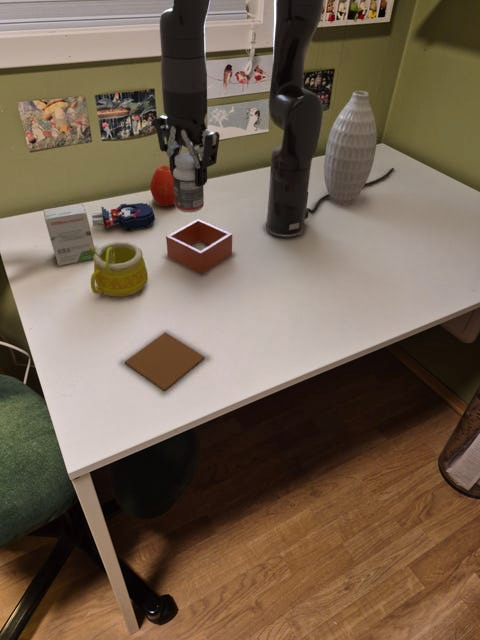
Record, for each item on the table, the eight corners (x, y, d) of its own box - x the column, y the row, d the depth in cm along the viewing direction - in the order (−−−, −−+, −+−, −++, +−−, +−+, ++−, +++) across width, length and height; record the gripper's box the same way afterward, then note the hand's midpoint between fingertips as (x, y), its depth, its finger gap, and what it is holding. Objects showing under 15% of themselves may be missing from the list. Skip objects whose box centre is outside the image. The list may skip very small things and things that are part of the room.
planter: (198, 238, 114) (197, 218, 111) (232, 254, 109) (232, 233, 106) (167, 256, 108) (165, 236, 104) (201, 274, 103) (200, 253, 100)
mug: (125, 264, 105) (117, 216, 97) (159, 283, 100) (153, 234, 92) (77, 290, 98) (65, 240, 90) (111, 312, 93) (101, 262, 85)
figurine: (90, 204, 117) (150, 198, 120) (93, 219, 120) (151, 212, 123) (92, 221, 111) (155, 214, 114) (95, 236, 114) (156, 229, 117)
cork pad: (165, 334, 88) (165, 332, 88) (204, 358, 84) (204, 356, 84) (124, 363, 83) (124, 361, 82) (164, 391, 78) (164, 389, 78)
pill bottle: (175, 199, 95) (172, 151, 88) (203, 199, 95) (202, 151, 88) (174, 213, 90) (171, 163, 84) (204, 213, 91) (203, 163, 84)
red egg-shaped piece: (177, 212, 124) (175, 173, 117) (147, 209, 125) (143, 170, 118) (185, 198, 130) (183, 160, 123) (156, 195, 131) (153, 157, 124)
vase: (370, 197, 133) (395, 91, 115) (353, 215, 125) (376, 104, 107) (330, 185, 138) (346, 82, 120) (311, 202, 130) (326, 94, 111)
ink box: (93, 248, 110) (83, 202, 102) (97, 259, 107) (87, 212, 99) (55, 255, 107) (42, 208, 100) (57, 266, 104) (44, 219, 96)
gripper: (231, 89, 77) (229, 185, 88) (170, 72, 83) (175, 164, 95) (200, 98, 72) (202, 199, 84) (138, 80, 79) (147, 175, 90)
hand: (188, 180), depth 89 cm, fingers closed on pill bottle, 5 cm apart
